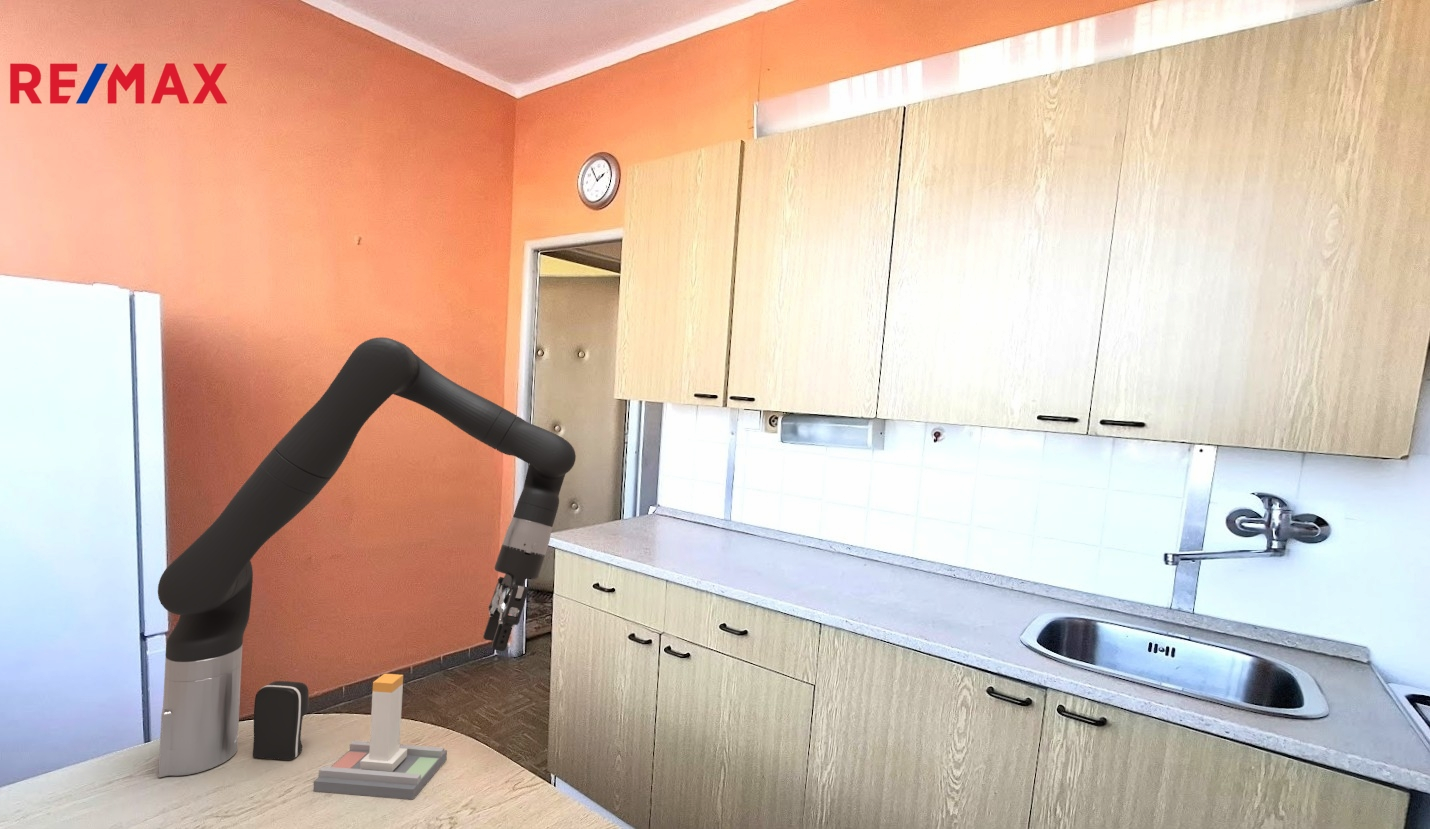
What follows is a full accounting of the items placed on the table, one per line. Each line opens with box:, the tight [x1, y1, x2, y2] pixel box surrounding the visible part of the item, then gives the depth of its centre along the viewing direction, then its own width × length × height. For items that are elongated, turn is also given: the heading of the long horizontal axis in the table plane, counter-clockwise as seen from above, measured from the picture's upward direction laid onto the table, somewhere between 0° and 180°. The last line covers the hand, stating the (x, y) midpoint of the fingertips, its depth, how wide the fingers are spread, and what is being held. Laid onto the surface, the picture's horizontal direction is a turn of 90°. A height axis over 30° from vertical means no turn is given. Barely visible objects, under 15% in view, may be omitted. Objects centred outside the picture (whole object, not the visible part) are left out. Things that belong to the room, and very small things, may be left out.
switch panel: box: [312, 740, 448, 800], centre depth 92 cm, size 15×10×2 cm, turn 88°
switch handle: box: [360, 673, 407, 772], centre depth 92 cm, size 5×4×13 cm
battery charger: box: [252, 680, 310, 761], centre depth 96 cm, size 7×4×11 cm, turn 89°
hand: (493, 644), depth 99 cm, fingers open, 8 cm apart
